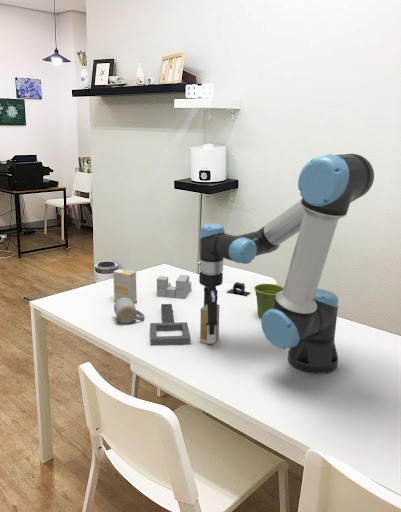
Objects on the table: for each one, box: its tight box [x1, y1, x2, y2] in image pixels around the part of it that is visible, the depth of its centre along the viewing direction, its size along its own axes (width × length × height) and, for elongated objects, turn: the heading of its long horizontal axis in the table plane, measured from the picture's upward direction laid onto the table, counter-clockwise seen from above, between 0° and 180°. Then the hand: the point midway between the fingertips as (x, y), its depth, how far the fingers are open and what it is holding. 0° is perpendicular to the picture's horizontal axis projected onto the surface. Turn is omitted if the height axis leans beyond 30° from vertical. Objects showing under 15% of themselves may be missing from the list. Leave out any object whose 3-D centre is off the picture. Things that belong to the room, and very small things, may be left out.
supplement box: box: [112, 268, 138, 305], centre depth 194 cm, size 8×5×13 cm, turn 58°
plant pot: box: [253, 283, 284, 319], centre depth 183 cm, size 12×12×11 cm
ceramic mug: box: [113, 298, 146, 325], centre depth 178 cm, size 11×8×8 cm
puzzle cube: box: [156, 274, 192, 300], centre depth 207 cm, size 12×12×8 cm
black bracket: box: [226, 281, 251, 297], centre depth 209 cm, size 12×7×5 cm, turn 60°
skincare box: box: [199, 303, 221, 346], centre depth 162 cm, size 6×4×12 cm
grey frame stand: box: [149, 303, 192, 346], centre depth 175 cm, size 31×13×2 cm, turn 6°
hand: (209, 337), depth 163 cm, fingers closed on skincare box, 7 cm apart
